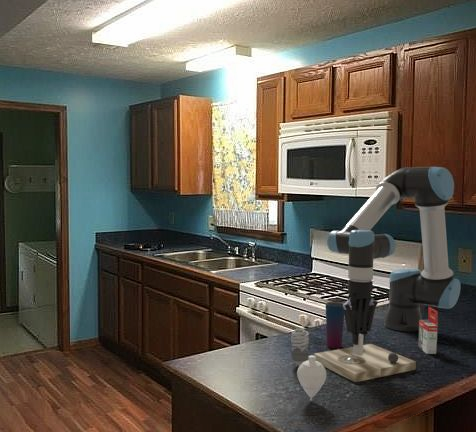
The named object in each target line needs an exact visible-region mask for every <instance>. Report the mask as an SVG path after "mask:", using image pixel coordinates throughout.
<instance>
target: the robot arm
mask: <svg viewBox="0 0 476 432" xmlns="http://www.w3.org/2000/svg"><path fill="white" fill-rule="evenodd" d="M454 190H455V181H454V178H453V175H452V174H451V172H450V171H449V169H448V168H446V167H443V166H442V167H440V166H415V167H414V166H408V167H407V166H406V167H403V168H402V167H401V168H399V169H397V170H395V171H393V172H391V173H390V174H389V175H387V176H386V177H384V178H383V179H382V180H380V182H379V183H378V184H377V185H376V187H375V191H374V193H373V194H372V195H371V196H370V197H369V198H368V199H367V201H366V202H365V203H364V204H363V205H362V206H361V207H360V208H359V210H358V211H357V212H356V213H355V214H354V215H353V217H352V218H351V219H350V220H349V221H348V222H347V224H346V225H345V226H344V227H342V229H341V230H339V229H338V230H332V231H331V232H329V234H328V236H327V239H326V244H327V247H328V249H329V251H331V252H332V253H337V254H341V255H342V254H343V255H348V266H347V267H348V268H347V269H348V271H347V273H348V274H347V278H348V280H347V291H348V296H347V301H345V302H341V303H342V304H341V306H342V308H343V310H344V322H345V326H346V331H347V332H348V333H350V334H352V338H351V339H352V342H351V343H352V345H353V347H354V354H356V355H358V356H361V355H363V345H365V342H366V341H365V340H366V339H365V338H366V336H367V335H368V333H369V332H371V330H372V329H371V328H372V324H373V319H374V315H375V311H376V308H377V305H378V304H379V302H378V301H377V300H375V299H374V298H373V297H372V296H373V295H372V293H373V292H374V291H373V290H374V289H373V288H374V287H373V285H374V283H373V281H372V280H373V279H374V260H376V259H381V258H383V259H384V258H387V257H390V256H391V255H393V254H394V252H395V251H396V247H397V246H396V241H395V239H394V237H392V236H391V235H389V234H388V233H379V234H377V233H376V234H375V233H374V231H373V230H372V229H373V227H374V226H375V225H376V224H377V223H378V222H379V220H380V219H381V218H382V217H383V216H384V214H385V213H386V212H387V211H388V210H389V209H390V208H391V206H392V205H395V204H398V202H399V201H400V200H403V199H414V206H415V207H416V208H418V209H419V218H420V232H421V241H422V244H421V245H422V254H423V255H422V256H423V267H424V269H423V270H421V269H418V268H404V269H396V270H393V271H391V273H390V277H389V297H388V302H389V303H388V308H387V311H386V314H385V317H384V320H383V326H384V327H386V328H388V329H390V330H394V331H397V332H398V331H399V332H410V333H411V332H413V333H414V332H419V320H423V319H422V314H421V309H420V305H424V306H428V307H434V308H435V307H436V308H438V309H447V310H449V309H452V308H453V307H454V306H455V305H456V304H457V302H458V300H459V299H460V298H459V297H460V294H461V288H462V286H461V282H460V280H459V279H458V278H456V277H455V278H454V271H453V270H452V269H451V268H450V267H449V256H448V255H449V254H448V240H447V227H446V212H445V207H446V206H447V205H448V204H449V200H451V198H453V195H454V194H455V191H454Z"/></svg>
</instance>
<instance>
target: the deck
mask: <svg viewBox="0 0 476 432" xmlns="http://www.w3.org/2000/svg"><path fill="white" fill-rule="evenodd" d="M390 353H394V352H393V351H390V350H388V349H386V348H384V347H380V346H378V345H375V344H373V343H367V344H363V355H361V356H358V355H356V354H354V346H351V347H344V348H337V349H333V350H326V351H321V352H316V353H314V354H313V356H316V360H315V361H318V362H320V363H321V364H322V365H323V367H324V368H325V369H326V368H327V369H328V370H330V371H332V372H334V373H336V374H338V375H339V376H342V377H344V378H346V379H348V380H350V381H351V382H354V383H357V382H358V383H359V382H362V381H368V380H373V379H376V378H382V377H387V376H392V375H396V374H402V373H406V372H411V371H415V370H416V367H417V366H416V365H417V363H416V361H415V360H413V359H410V358H407V357H405V356H402V355H400V354H398V353H396V354H397V355H398V361H397V362H395V363H392V362H390V361H389V359H388V355H389V354H390ZM347 358H352V359H354V361H355V362H347V361H345V360H346V359H347Z"/></svg>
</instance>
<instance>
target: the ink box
mask: <svg viewBox="0 0 476 432" xmlns="http://www.w3.org/2000/svg"><path fill="white" fill-rule="evenodd" d="M427 309H428V312H427V314H428V319H422V320H419V331H418V339H417V340H418V341H417V347H418V348H419V349H420V350H421V351H423V353H424V354H426V355H436V354H437V346H438V345H437V344H438V343H437V342H438V328H439V327H438V325H439V323H438V321H439V311H437V310H436V309H434V308H432V306H428V308H427Z"/></svg>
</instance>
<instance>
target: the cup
mask: <svg viewBox="0 0 476 432" xmlns="http://www.w3.org/2000/svg"><path fill="white" fill-rule="evenodd" d="M342 303H343V302H339V301H328V302H326V303H325V321H326V322H325V325H326V326H325V327H326V346H327V347H328V348H331V349H341V348H342V345H343V333H344V322H345V315H344V310H343V308H342V306H341V304H342Z"/></svg>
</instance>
